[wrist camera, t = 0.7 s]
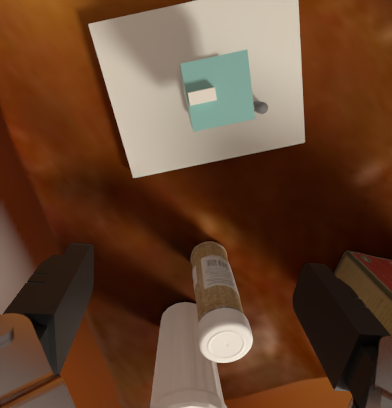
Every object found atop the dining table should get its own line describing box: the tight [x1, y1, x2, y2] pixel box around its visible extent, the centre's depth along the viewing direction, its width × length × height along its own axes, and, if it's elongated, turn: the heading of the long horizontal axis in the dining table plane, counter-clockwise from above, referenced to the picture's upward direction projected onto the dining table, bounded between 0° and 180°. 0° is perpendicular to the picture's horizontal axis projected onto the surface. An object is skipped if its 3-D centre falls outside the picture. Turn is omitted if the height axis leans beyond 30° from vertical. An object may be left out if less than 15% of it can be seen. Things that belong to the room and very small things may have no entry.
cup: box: [150, 302, 227, 408], centre depth 34 cm, size 8×8×14 cm
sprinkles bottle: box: [191, 241, 253, 363], centre depth 30 cm, size 5×5×13 cm
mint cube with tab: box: [179, 50, 255, 132], centre depth 22 cm, size 4×4×6 cm
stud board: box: [88, 0, 305, 178], centre depth 27 cm, size 18×14×5 cm
